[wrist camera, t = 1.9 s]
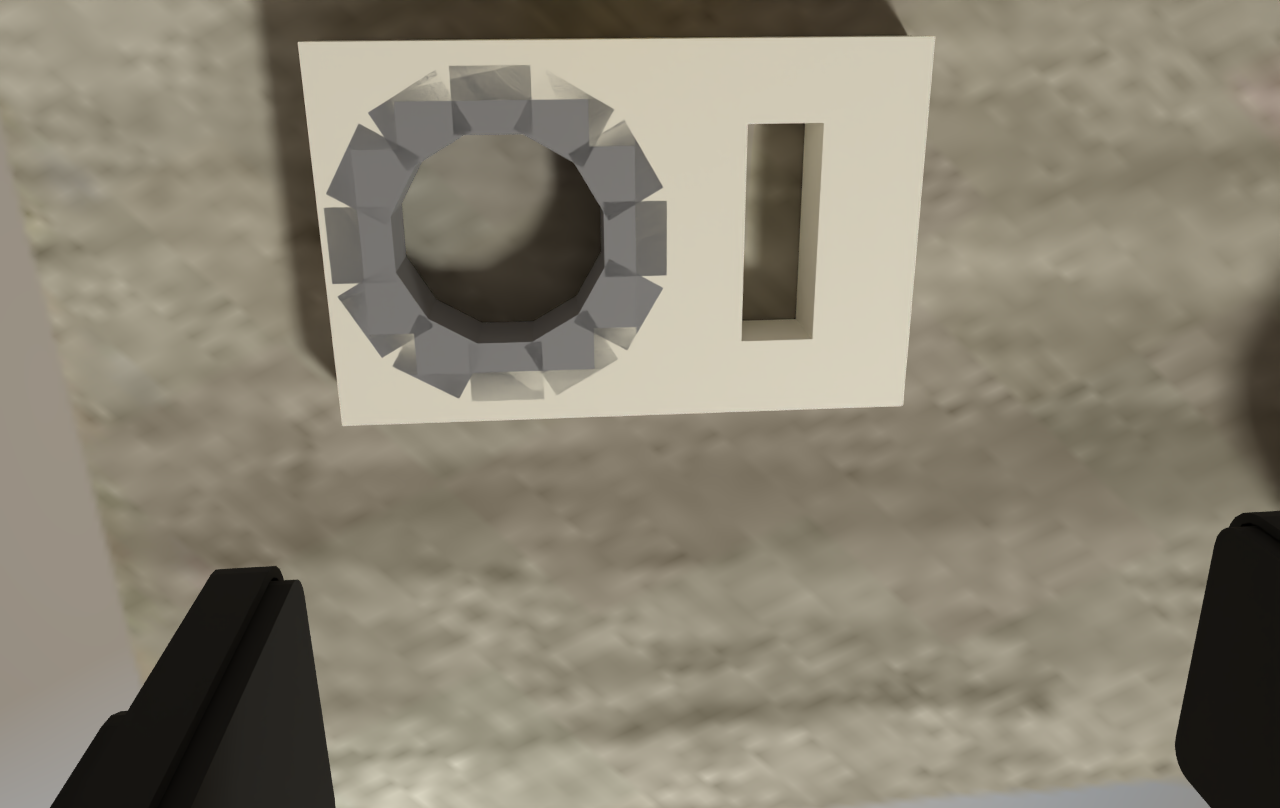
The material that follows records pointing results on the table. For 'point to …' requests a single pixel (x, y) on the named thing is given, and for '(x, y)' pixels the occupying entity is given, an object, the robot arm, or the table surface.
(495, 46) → the socket plate
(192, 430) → the table surface
